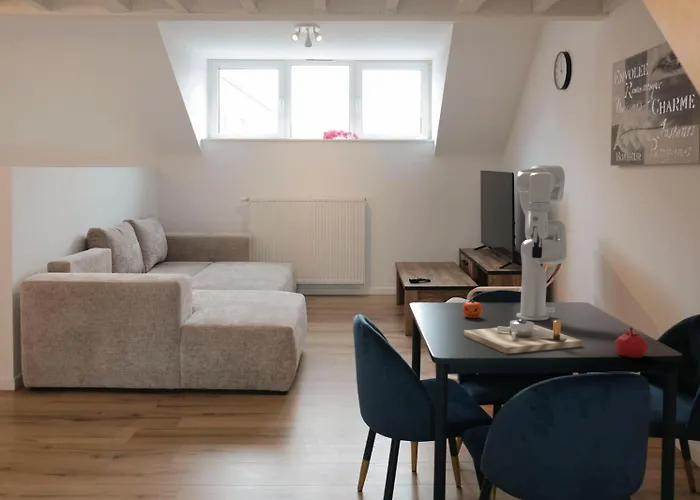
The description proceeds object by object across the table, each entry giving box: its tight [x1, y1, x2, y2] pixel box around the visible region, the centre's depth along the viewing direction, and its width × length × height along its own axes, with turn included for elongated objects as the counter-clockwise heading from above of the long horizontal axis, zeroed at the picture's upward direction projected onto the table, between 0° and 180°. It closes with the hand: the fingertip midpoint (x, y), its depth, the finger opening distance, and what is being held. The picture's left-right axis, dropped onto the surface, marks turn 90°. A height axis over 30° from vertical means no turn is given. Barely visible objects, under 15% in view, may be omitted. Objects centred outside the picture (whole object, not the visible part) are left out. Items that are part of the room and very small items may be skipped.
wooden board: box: [463, 324, 583, 355], centre depth 245 cm, size 30×26×2 cm
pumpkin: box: [462, 299, 484, 319], centre depth 283 cm, size 8×8×7 cm
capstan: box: [496, 318, 562, 339], centre depth 243 cm, size 22×17×6 cm
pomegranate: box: [614, 326, 649, 359], centre depth 227 cm, size 10×10×9 cm
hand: (536, 257), depth 258 cm, fingers closed
